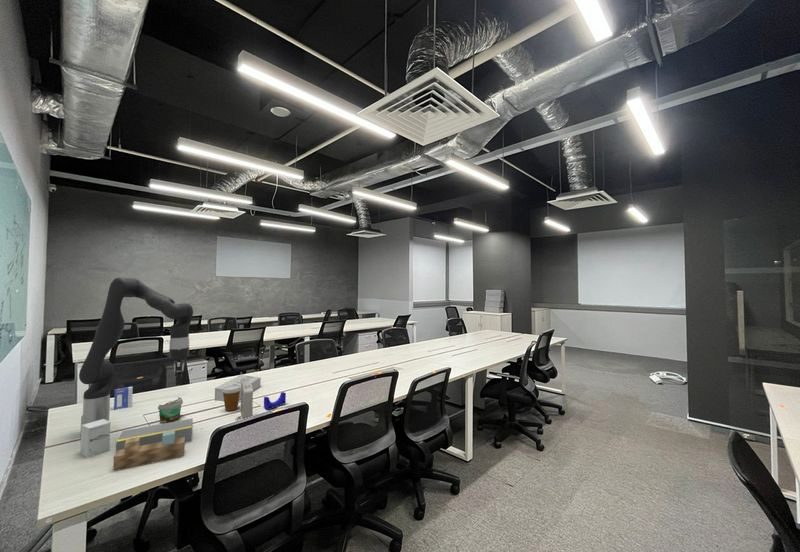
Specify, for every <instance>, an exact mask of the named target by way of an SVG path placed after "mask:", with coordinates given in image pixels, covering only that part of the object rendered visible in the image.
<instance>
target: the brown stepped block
mask: <svg viewBox="0 0 800 552" xmlns="http://www.w3.org/2000/svg"><path fill="white" fill-rule="evenodd" d="M185 443H186V442H185V437H182V438H177V439H175V442H174V444H170V445H165V446H162V442H157V443H152V444H147V445H142V446H140V447H139V450H138V451H136V452H132V453H127V454H125V449H123V450H118V451H117V452H116V451H115V454H114V456H113V464H112V465H113V466H112V467H113V468H112V470H115V471H119V470H118V469H120V470H124V469H129V468H133V467H139V466H144V465H148V463H149V464H153V463H152V462H154V463H158V461H159V462H162V460H163V461H167V460H172V459H177V457H178V458H181V457H182V456H183V457H184V456H185ZM143 464H144V465H143Z"/></svg>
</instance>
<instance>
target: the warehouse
mask: <svg viewBox="0 0 800 552" xmlns="http://www.w3.org/2000/svg"><path fill="white" fill-rule="evenodd" d="M241 378H249V380H250V383H251V386H252V389H253V391H254V390H256V389H258V388H259V387H261V382H262V381H261V377H259V376H251V375H245V374H239V375H238V376H236V377H234V378H233V379H230V380H228V381H227V382H225V383H223V384H221V385H219V386H217V387H215V388H214V402H215V401H216V402H224V395H223V392H222V391H223V388H224V387H227V386H232V385H239V386H240V388H241ZM239 401H241V390H240V394H239Z"/></svg>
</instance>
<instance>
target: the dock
mask: <svg viewBox="0 0 800 552" xmlns="http://www.w3.org/2000/svg"><path fill="white" fill-rule="evenodd" d="M193 422H194V421H193V418H188V419H180V420H177V421H175V422H169V423H164V424H160V423H158V424H154V425H147V426H142V427H137V428H131V429H126V430H122V432H121V433H120V435H119V437H118V438H117V440H116V441H115V453H116V452H117V451H118V450H123V449H125V442H126V440H127V439H130V438H136V437H140V446H142V445H147V444H152V443H157V442H162V436H163V432H167V431H172V430H175V439H177V438H182V437H185V443H190V442H192V437H193V427H194V426H193V424H194V423H193Z"/></svg>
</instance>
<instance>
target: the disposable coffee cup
mask: <svg viewBox="0 0 800 552" xmlns="http://www.w3.org/2000/svg"><path fill="white" fill-rule="evenodd" d="M240 390H241V388H240V386H239V385H232V386H227V387H224V388H223V391H222V392H223V395H224V401H223V402H224V409H225V411H234V410H237V409H238V408H239V406H238V405H239V401H240V400H239V394H240Z"/></svg>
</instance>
